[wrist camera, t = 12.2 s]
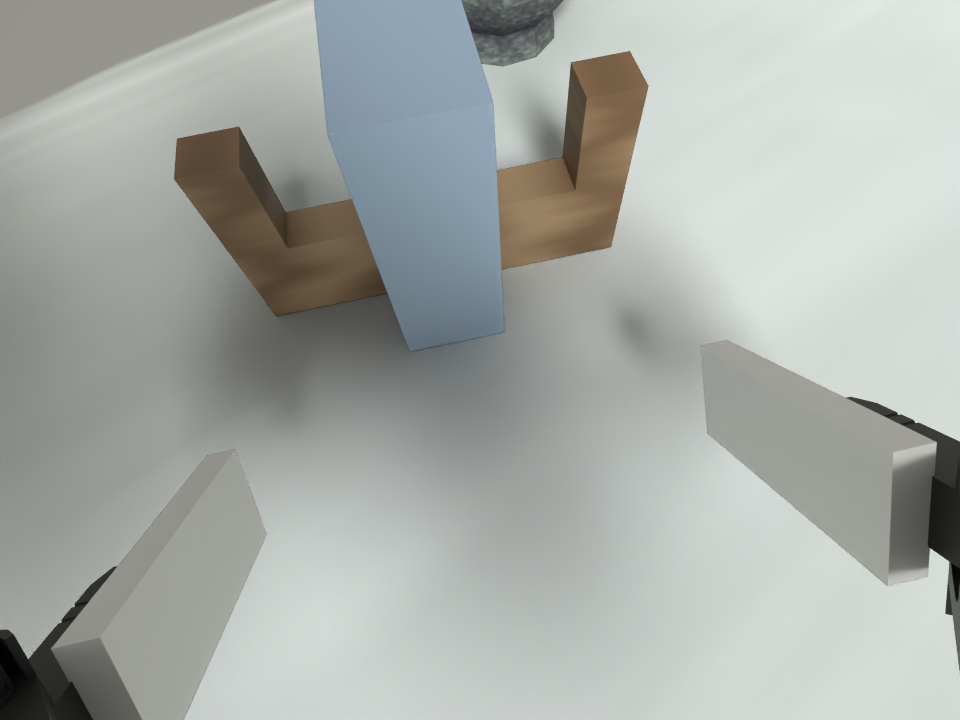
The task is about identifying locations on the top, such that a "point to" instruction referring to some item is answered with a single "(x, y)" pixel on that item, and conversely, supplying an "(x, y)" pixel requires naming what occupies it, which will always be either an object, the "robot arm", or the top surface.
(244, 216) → the wooden drawer pull
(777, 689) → the top surface
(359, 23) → the slotted block
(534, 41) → the mortar and pestle
